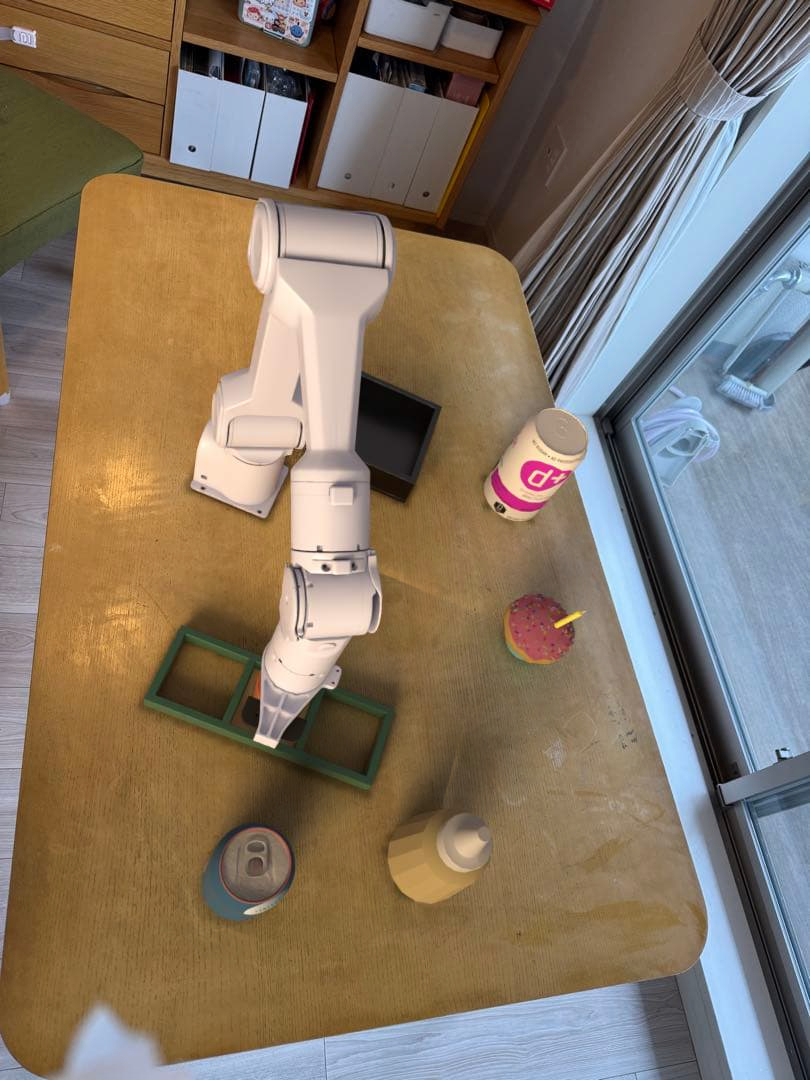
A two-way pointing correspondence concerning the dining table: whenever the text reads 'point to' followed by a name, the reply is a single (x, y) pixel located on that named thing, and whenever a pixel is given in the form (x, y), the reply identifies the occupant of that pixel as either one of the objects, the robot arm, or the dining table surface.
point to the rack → (247, 734)
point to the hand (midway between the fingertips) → (280, 694)
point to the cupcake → (539, 629)
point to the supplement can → (536, 464)
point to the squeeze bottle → (439, 853)
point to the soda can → (248, 872)
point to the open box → (393, 435)
